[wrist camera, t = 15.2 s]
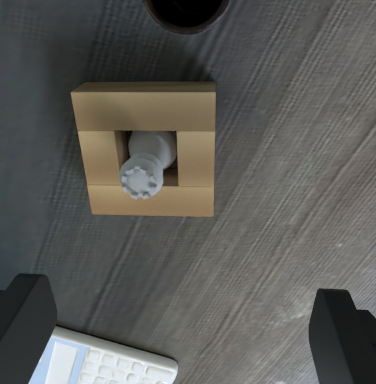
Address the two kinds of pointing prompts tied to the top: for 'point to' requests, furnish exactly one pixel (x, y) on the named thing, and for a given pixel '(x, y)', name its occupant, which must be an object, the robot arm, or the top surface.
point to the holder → (148, 121)
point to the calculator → (99, 362)
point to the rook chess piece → (147, 162)
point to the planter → (186, 14)
